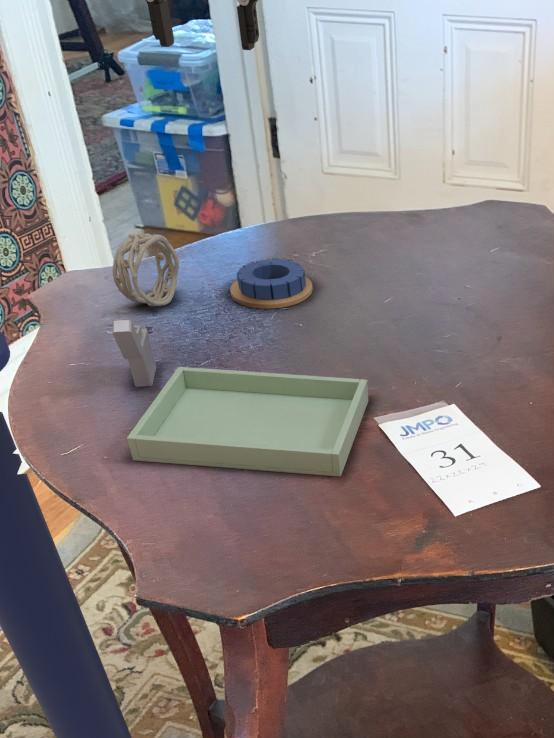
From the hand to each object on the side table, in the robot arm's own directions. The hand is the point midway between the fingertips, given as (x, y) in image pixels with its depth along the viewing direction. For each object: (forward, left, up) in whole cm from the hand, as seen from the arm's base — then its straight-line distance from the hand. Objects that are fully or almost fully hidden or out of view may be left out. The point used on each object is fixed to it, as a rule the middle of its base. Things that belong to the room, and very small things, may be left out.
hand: (207, 47), depth 87 cm
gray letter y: (-4, -23, -26) cm, 35 cm away
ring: (+3, +1, -25) cm, 25 cm away
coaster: (+3, +1, -26) cm, 26 cm away
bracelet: (-10, -4, -26) cm, 28 cm away
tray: (+10, -30, -26) cm, 41 cm away
